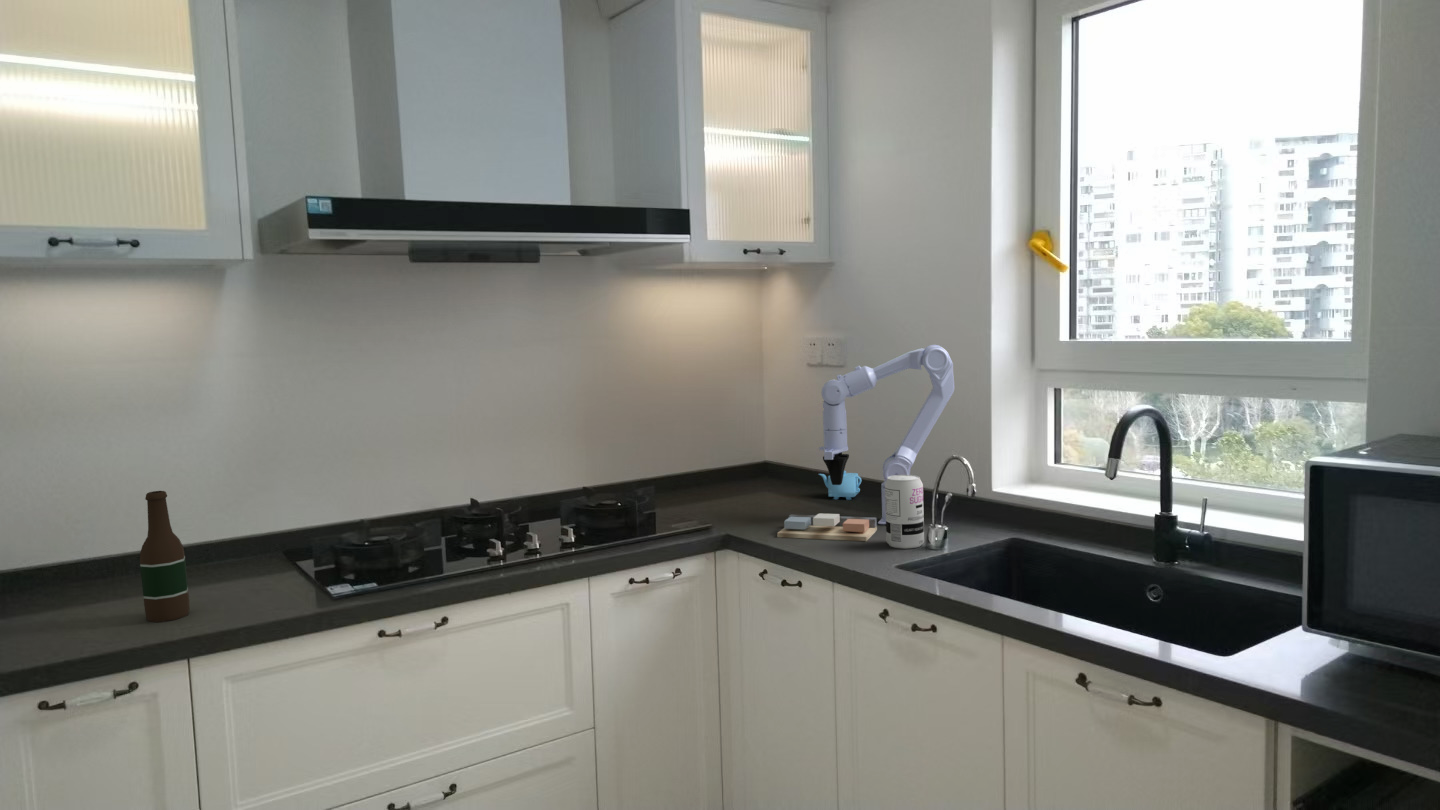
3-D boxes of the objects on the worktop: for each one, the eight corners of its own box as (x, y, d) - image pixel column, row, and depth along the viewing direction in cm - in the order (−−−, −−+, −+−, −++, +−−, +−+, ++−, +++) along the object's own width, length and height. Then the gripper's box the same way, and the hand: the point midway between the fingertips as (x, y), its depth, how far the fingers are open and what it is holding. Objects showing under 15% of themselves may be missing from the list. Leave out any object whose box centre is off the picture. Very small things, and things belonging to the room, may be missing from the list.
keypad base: (876, 530, 235) (876, 517, 234) (866, 541, 224) (866, 528, 224) (791, 526, 242) (790, 514, 242) (777, 537, 232) (776, 524, 232)
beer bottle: (199, 609, 194) (187, 487, 191) (178, 621, 186) (166, 494, 184) (158, 611, 193) (145, 489, 191) (136, 624, 186) (123, 497, 183)
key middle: (839, 521, 234) (839, 514, 234) (834, 526, 229) (834, 518, 229) (819, 520, 236) (818, 513, 236) (813, 525, 231) (813, 517, 231)
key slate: (811, 524, 237) (810, 517, 236) (805, 529, 232) (804, 521, 232) (790, 523, 238) (790, 516, 238) (784, 528, 234) (784, 521, 234)
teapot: (816, 499, 274) (815, 472, 273) (821, 495, 280) (820, 468, 279) (860, 500, 270) (859, 473, 269) (864, 496, 276) (863, 469, 275)
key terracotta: (869, 527, 232) (869, 519, 231) (864, 532, 227) (864, 524, 227) (848, 526, 233) (847, 518, 233) (842, 531, 229) (842, 523, 229)
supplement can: (889, 539, 225) (887, 474, 223) (926, 540, 222) (924, 474, 221) (883, 548, 217) (881, 480, 216) (922, 549, 215) (920, 481, 213)
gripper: (826, 425, 250) (828, 478, 252) (811, 433, 237) (812, 489, 238) (854, 425, 248) (856, 479, 249) (840, 433, 234) (841, 490, 236)
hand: (836, 484), depth 244 cm, fingers closed
